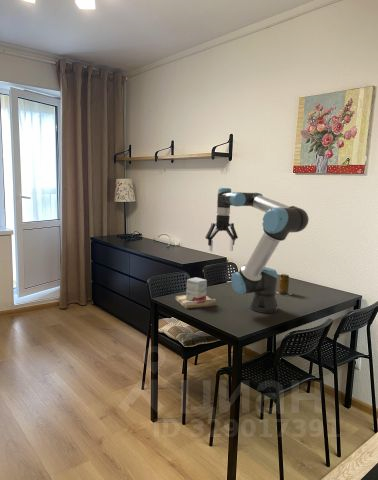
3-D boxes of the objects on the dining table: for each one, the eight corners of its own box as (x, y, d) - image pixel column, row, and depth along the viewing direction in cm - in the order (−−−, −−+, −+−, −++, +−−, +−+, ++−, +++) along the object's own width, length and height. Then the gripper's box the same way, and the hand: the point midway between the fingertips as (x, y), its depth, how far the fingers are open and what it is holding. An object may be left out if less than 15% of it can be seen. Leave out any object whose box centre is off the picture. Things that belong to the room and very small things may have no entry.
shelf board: (215, 305, 208) (215, 299, 207) (186, 308, 201) (186, 302, 200) (203, 296, 223) (203, 291, 222) (175, 299, 216) (175, 293, 215)
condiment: (282, 291, 243) (283, 273, 241) (293, 294, 236) (294, 276, 235) (275, 292, 238) (276, 274, 236) (286, 296, 232) (287, 277, 230)
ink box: (206, 299, 211) (207, 279, 210) (197, 302, 205) (198, 282, 203) (194, 296, 217) (195, 276, 215) (185, 299, 210) (186, 279, 208)
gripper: (238, 214, 223) (236, 248, 226) (200, 213, 213) (199, 250, 216) (245, 215, 216) (242, 251, 219) (206, 215, 206) (204, 252, 209)
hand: (221, 250), depth 218 cm, fingers open, 13 cm apart
